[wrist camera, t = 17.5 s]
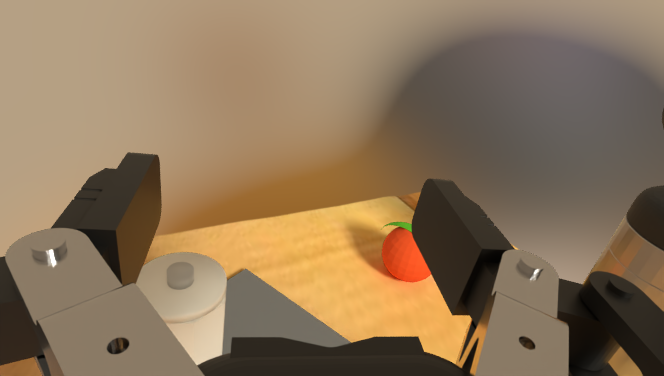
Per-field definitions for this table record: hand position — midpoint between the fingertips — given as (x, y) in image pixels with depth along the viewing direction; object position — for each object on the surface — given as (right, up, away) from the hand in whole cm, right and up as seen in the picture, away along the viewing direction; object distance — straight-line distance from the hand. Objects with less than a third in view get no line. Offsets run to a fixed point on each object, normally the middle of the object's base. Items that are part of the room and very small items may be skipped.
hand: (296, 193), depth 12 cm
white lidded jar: (-12, -15, +21) cm, 29 cm away
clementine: (+10, -11, +39) cm, 41 cm away
